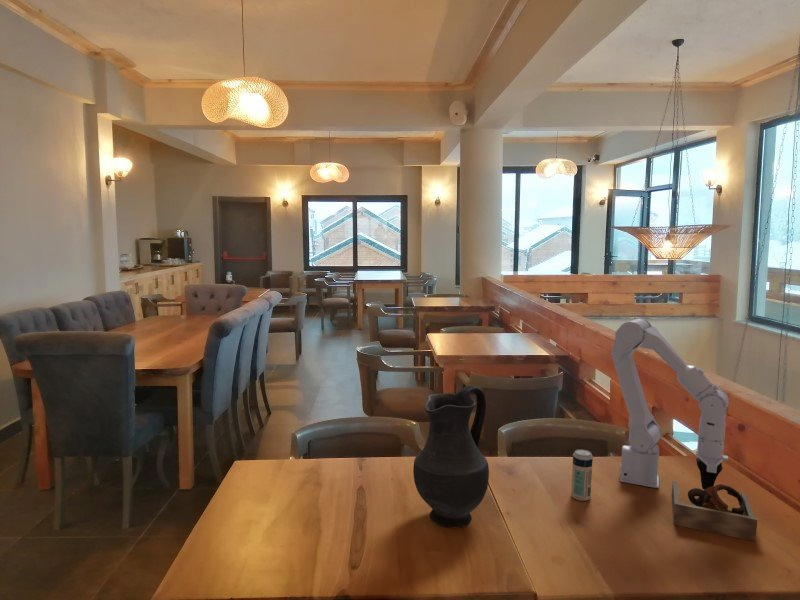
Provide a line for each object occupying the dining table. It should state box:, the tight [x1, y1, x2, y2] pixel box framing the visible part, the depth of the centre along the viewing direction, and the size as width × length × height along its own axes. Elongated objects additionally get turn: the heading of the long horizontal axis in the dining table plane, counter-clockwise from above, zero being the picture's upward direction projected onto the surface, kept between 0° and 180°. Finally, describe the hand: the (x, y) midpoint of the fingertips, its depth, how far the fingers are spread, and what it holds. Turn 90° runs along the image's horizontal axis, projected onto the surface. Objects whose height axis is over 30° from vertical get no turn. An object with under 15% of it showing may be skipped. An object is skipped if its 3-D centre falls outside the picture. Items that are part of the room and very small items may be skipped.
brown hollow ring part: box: [687, 483, 746, 515], centre depth 130 cm, size 12×10×8 cm
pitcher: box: [413, 384, 490, 528], centre depth 127 cm, size 17×21×30 cm
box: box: [671, 480, 758, 542], centre depth 129 cm, size 16×16×5 cm
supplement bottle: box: [570, 448, 594, 502], centre depth 137 cm, size 5×5×12 cm
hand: (706, 488), depth 138 cm, fingers closed
